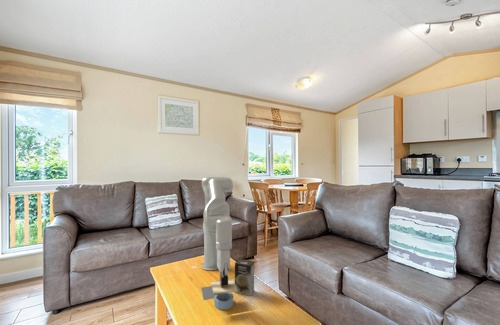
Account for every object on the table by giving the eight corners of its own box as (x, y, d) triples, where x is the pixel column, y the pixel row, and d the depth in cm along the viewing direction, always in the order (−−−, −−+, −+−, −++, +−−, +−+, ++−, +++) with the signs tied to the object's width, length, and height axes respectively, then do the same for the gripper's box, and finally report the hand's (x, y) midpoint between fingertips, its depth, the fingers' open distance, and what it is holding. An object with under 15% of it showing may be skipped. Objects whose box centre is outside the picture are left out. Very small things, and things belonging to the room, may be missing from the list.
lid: (210, 283, 117) (210, 269, 117) (232, 280, 120) (232, 266, 120) (214, 295, 107) (214, 280, 107) (237, 291, 110) (237, 276, 110)
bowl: (213, 301, 117) (213, 293, 117) (230, 298, 119) (230, 290, 119) (215, 312, 108) (215, 303, 108) (235, 308, 111) (235, 300, 111)
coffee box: (234, 293, 123) (234, 263, 123) (238, 287, 130) (238, 258, 130) (250, 297, 120) (250, 265, 120) (254, 290, 126) (254, 260, 126)
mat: (201, 288, 128) (201, 287, 128) (223, 285, 132) (223, 284, 132) (203, 301, 117) (203, 299, 117) (227, 297, 120) (227, 295, 120)
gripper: (213, 240, 120) (213, 276, 120) (219, 251, 105) (219, 293, 105) (228, 238, 123) (228, 274, 122) (235, 249, 107) (235, 290, 107)
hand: (223, 282), depth 114 cm, fingers closed on lid, 3 cm apart
